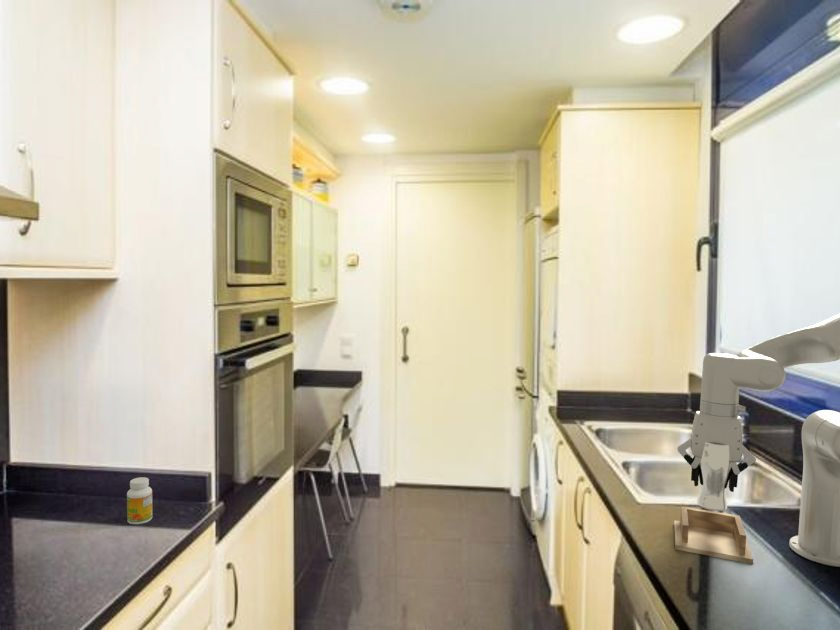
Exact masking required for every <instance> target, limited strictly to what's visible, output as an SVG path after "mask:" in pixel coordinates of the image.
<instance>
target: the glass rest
mask: <svg viewBox="0 0 840 630" xmlns="http://www.w3.org/2000/svg"><path fill="white" fill-rule="evenodd" d="M680 507H681V508H680V519H679V520H676V519H674V521H673V530H674V547H675V548H674V549H675V550H677V551H682V552H687V553H693V554H698V555H699V554H700V555H703V556H709V557H715V558H720V559H725V560H731V561H735V562H741V563H746V564H751V565H753V564H754V557H753V554H752V551H751V548H750V545H749V542H748V538H747V534H746V531H745V527H744V524H743V522H742V518H741V516H740V515H739V514H733V513H731V514H730V513H726V512H721V511H713V510H708V509H701V508H693V507H689V506H688V507H687V506H683V505H682V506H680Z"/></svg>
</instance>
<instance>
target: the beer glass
mask: <svg viewBox="0 0 840 630" xmlns="http://www.w3.org/2000/svg"><path fill="white" fill-rule="evenodd" d="M698 469H699V492H698V496H697V500H696V504H697V505H698V506H700V507H701V508H702V509H703V508H704V510H708V511H713V512H723V511H726V510H727V509H728V503H727V488H728V486H729V478H730V474H731V470H732V462H731V460H730V452H729V445H719V444H712V443H708V442H705V447H704V450H703V453H702V457H700V458H699V464H698Z"/></svg>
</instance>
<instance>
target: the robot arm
mask: <svg viewBox="0 0 840 630" xmlns="http://www.w3.org/2000/svg"><path fill="white" fill-rule="evenodd" d="M839 360H840V313H838V314H836V315H833V316H831V317H829V318H828V319H825V320H823V321H820V322H818V323H815V324H813V325H810V326H807V327H804V328H800V329H797V330H794V331H791V332H788V333H784V334H781V335H777V336H775V337H771V338H769V339H766V340H764V341H761V342H760V343H757V344H755V345H753V346H750V347H748V348H746V349H743V350H742V351H740V352H739V353H737V354H736V355H734V354H731V353H723V352H709V353H707V354H705V355H704V357H703V360H702V373H701V386H700V389H701V390H700V399H699V400H700V402H699V404H700V405H699V410H696V411H695V414H694V416H693V418H694V419H693V421H692V427H691V437H690V438H689V439H687V440H685V441H684V442H683V443H682V444H680V445H678V446H677V448H676V449H677V452H678V454H680V455H681V456H682V457H683V459H684V460H685V461H686V462H687V464H688V465H689V466H690V467H691V474H690V481H691V482H693V483H694V484H693V485H694V487H698V486H699V482H700V479H699V469H698V464H699V458H700V457H702V453H703V450H704V447H705V442H708V443H712V444H719V445H729V452H730V460H731V462H732V470H731V474H730V478H729V482H728V489H729V492H732V493H734V490H735V488H738V478H739V475H740V473H742V472H743V471H745V470H746V469H747V468H749V467H750V466H751V465H752V464H755V462H756V461H757V458H756V457H755V455H753V454H752V453H751V451H750V450H748V448H746V446H744V445H743V425H742V418H741V416H740V415H739V414H742V413H746V409H747V407H746V406H744V405H742V404H741V405H740V404H739V401H740V389H741V388H742V389H748V390H753V391H758V392H772V391H775V390H777V389H779V388H780V387H781V386H783V385H784V382H785V380H786V370H785V369H786V368H789V367H793V366H798V365H804V364H805V365H806V364H824V363H831V362H836V361H839ZM801 445H802V455H803V456H802V457H803V460H802V462H803V463H802V464H803V465H802V467H803V468H802V481H801V490H800V491H801V492H800V506H799V520H798V521H799V522H798V532H797V533H798V534H797V535H795V536H792V537H791V538H790V539H789V542H788V543H789V548H791V550H792V551H794V553H796V554H797V555H799V556H801V557H803V558H805V559H807V560H810V561H812V562H816V563H819V564H821V565H826V566H830V567H837V568H840V412H839V411H836V410H831V409H822V410H820V409H819V410H817V411H814V412H812V413H811V414H810V415H808V416H807V417H806V418H805V420H804V422H803V423H802V427H801ZM689 448H690V450H691V454H692V455H693V457H692V456H691V455H690V454H689V453H688V452H687V451H686V450H687V449H689ZM743 456H745V459H744V460H742V457H743ZM738 462H739V463H738Z"/></svg>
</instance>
